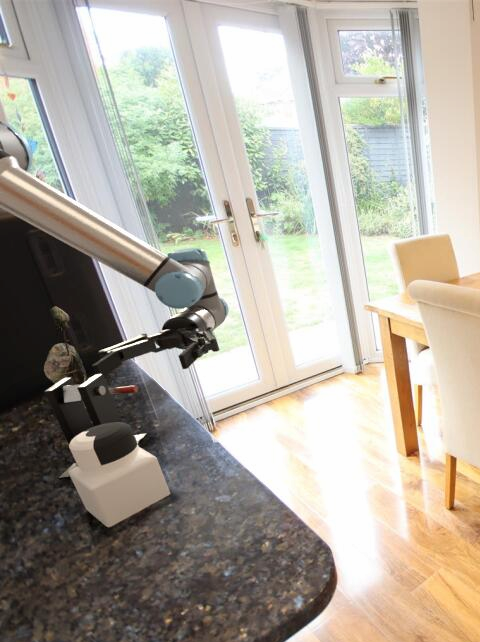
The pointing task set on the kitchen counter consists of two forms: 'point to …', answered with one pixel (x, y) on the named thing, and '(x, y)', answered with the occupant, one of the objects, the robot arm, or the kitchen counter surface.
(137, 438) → the bracket
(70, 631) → the kitchen counter surface
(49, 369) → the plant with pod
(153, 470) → the medicine bottle
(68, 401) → the lever
